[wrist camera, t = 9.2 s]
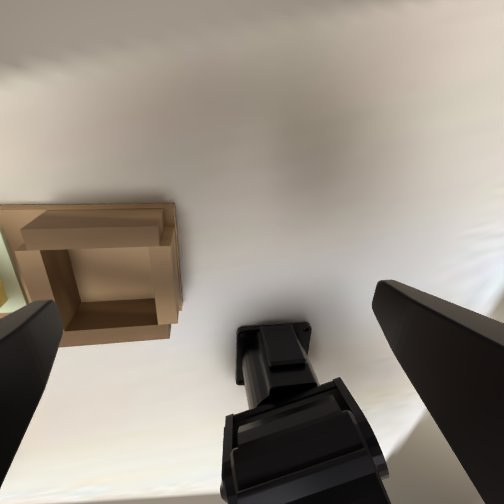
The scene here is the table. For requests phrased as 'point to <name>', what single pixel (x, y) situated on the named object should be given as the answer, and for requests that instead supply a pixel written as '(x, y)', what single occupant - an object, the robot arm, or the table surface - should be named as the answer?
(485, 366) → the robot arm
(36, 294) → the pocket
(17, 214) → the board
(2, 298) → the block
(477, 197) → the table surface
